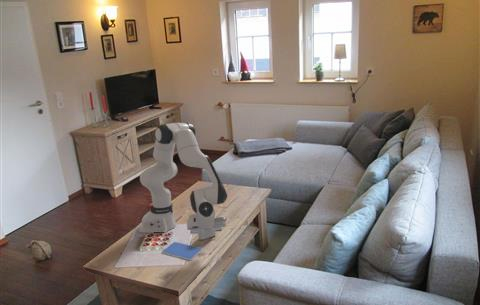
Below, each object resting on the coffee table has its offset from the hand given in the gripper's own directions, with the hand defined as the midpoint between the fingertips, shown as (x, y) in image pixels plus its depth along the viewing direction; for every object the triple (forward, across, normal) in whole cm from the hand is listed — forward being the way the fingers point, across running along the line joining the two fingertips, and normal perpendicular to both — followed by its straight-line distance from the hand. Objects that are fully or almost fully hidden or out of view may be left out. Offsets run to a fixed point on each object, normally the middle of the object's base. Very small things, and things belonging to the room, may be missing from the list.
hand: (206, 228), depth 213 cm
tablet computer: (+7, +14, +10) cm, 18 cm away
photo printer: (+16, 0, 0) cm, 16 cm away
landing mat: (+25, 0, -9) cm, 26 cm away
